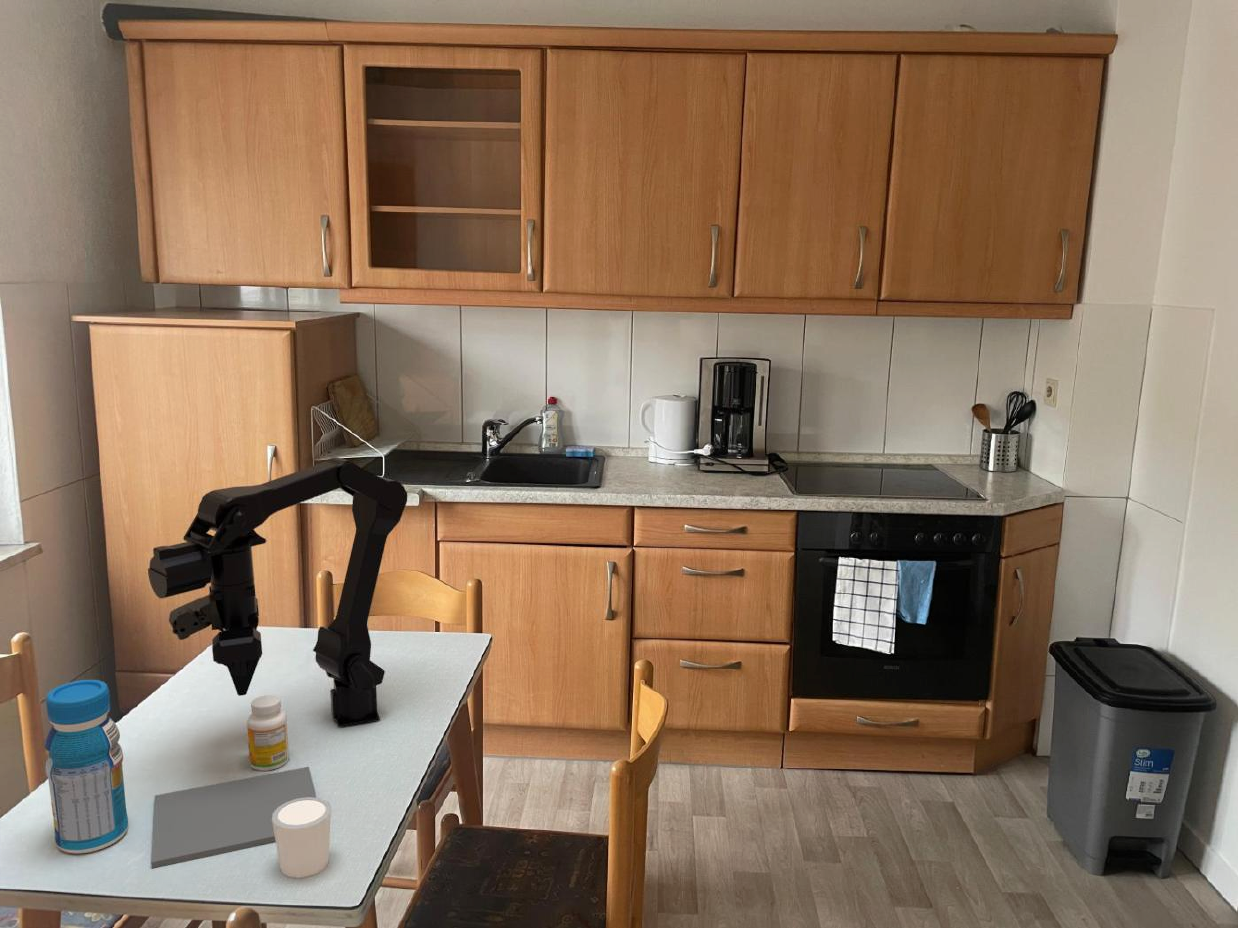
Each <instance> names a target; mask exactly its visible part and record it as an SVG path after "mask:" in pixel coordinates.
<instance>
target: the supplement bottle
mask: <svg viewBox="0 0 1238 928" xmlns="http://www.w3.org/2000/svg"><path fill="white" fill-rule="evenodd" d="M281 702H282V701H281V697H279V696H278V695H274V694H265V695H261V696H258V697H255V698H254V699H253V700H251V702H250V706H251V714H250V715H249V716H248V718H247V720H246V728H247V744H248V756H249V758H248V759H249V765H250V766H251V768H252V769H254V770H256V771H261V772H262V771H263V772H265V771H271V770H277V769H280V768H281V767H283V766H284V765H286V764H287V762H288V761H289V759H290V758H289V757H290V754H289V752H290V750H289V741H288V740H289V738H288V723H287V722H288V721H287V715H286V712H285V711H284V710H282V709H281V708H282V704H281Z"/></svg>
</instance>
